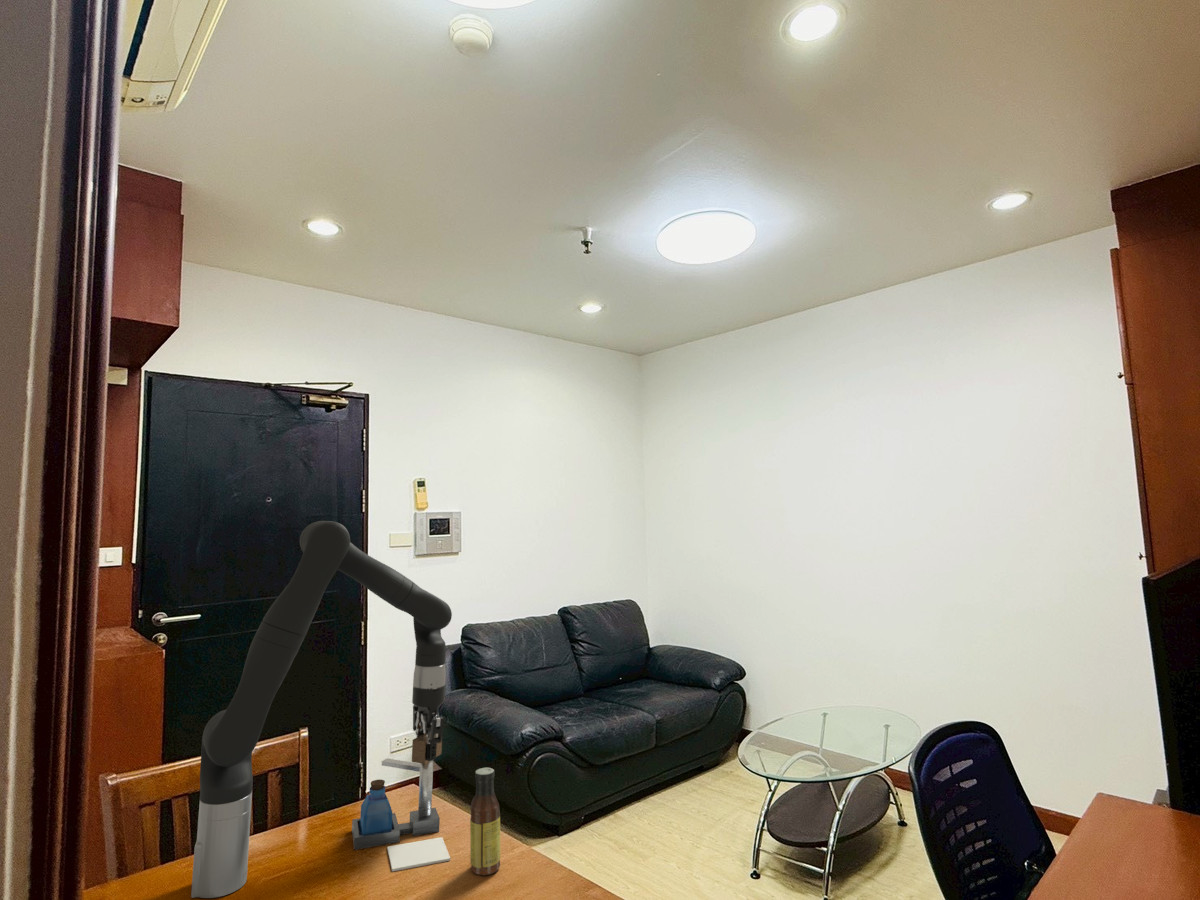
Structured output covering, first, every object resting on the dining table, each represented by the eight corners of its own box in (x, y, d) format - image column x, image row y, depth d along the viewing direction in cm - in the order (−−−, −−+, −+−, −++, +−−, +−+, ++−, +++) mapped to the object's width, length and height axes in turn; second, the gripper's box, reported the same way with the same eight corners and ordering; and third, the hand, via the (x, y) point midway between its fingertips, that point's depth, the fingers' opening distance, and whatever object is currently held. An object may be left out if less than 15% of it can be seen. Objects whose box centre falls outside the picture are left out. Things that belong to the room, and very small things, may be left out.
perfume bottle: (359, 833, 154) (362, 779, 155) (387, 828, 156) (389, 775, 157) (362, 845, 148) (365, 789, 149) (391, 840, 151) (393, 785, 152)
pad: (392, 871, 137) (392, 869, 137) (387, 849, 146) (387, 846, 147) (450, 860, 142) (450, 858, 142) (442, 839, 151) (442, 837, 151)
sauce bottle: (503, 862, 142) (505, 765, 144) (495, 878, 135) (498, 777, 137) (473, 860, 142) (476, 764, 144) (464, 876, 136) (467, 775, 138)
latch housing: (354, 850, 146) (354, 835, 146) (351, 830, 155) (352, 817, 155) (440, 835, 153) (440, 821, 153) (433, 817, 162) (434, 804, 162)
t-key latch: (372, 811, 157) (376, 734, 159) (391, 799, 164) (394, 725, 166) (422, 821, 153) (425, 741, 155) (439, 808, 159) (442, 732, 161)
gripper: (403, 678, 163) (400, 749, 161) (425, 692, 151) (421, 768, 150) (433, 675, 167) (429, 744, 166) (456, 687, 156) (452, 762, 154)
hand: (425, 755), depth 158 cm, fingers closed on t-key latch, 6 cm apart
